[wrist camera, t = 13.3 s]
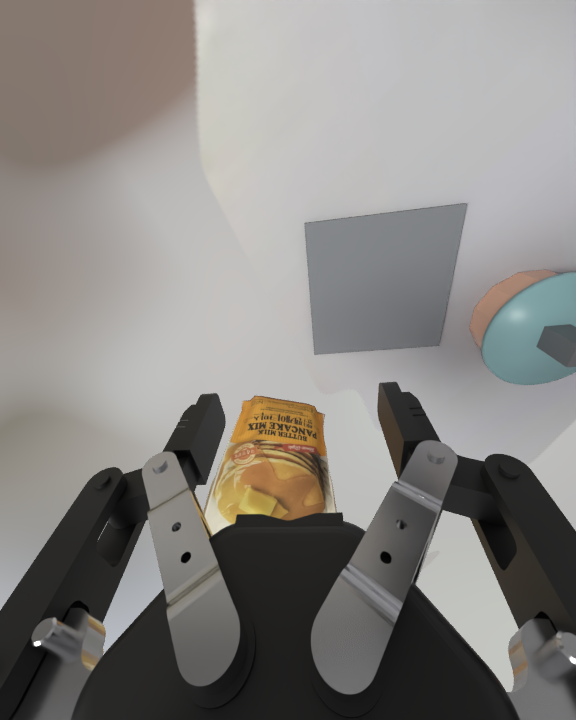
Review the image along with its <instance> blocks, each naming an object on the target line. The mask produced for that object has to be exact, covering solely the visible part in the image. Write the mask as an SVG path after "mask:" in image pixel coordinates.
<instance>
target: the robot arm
mask: <svg viewBox="0 0 576 720" xmlns="http://www.w3.org/2000/svg"><path fill="white" fill-rule="evenodd" d="M378 417H379V421H380V424H381V427H382V431H383V434H384V437H385V440H386V443H387V446H388V449H389V452H390V455H391V458H392V461H393V464H394V468H395V471H396V474H397V477H398V482H394V483H393V484H392V486H391V487H390V489H389V491H388V493H387V495H386V496H385V498H384V500H383V502H382V504H381V506H380V507H379V509H378V511H377V513H376V514H375V516H374V518H373V520H372V522H371V524H370V525H369V527H368V529H367V531H364V530H363V529H361V528H360V527H358V526H356V525H354V524H351V523H348V522H345V521H343V515H342V513H314V514H310V515H307V516H303V517H300V518H297V519H293V520H283V519H279V518H275V517H272V516H268V515H264V514H237V516H236V521H235V523H234V524H231V525H229V526H227V527H225V528H223V529H221V530H220V531H218V532H217V533H215V534H214V535H213V534H212V532H211V530H210V528H209V525H208V523H207V521H206V518H205V516H204V513H203V511H202V509H201V506H200V504H199V502H198V499H197V497H196V494H195V492H194V491H195V488H196V485H206V482H207V479H208V476H209V473H210V470H211V467H212V464H213V461H214V458H215V455H216V452H217V449H218V446H219V443H220V440H221V437H222V434H223V431H224V428H225V414H224V412H223V408H222V406H221V402H220V399H219V396H218V395H217V394H216V393H213V394H202V395H200V397H199V399H198V401H197V403H196V405H191V406H190V407H189V408H188V409H187V410H186V411H185V412H184V413H183V415H182V417H181V419H180V422H178V425H177V426H176V428H175V430H174V432H173V433H172V435H171V437H170V439H169V441H168V443H167V445H166V446H165V448H164V450H163V452H162V453H159V454H157V455H155V456H153V457H152V458H150V459H149V460H148V461H147V462H146V464H145V465H144V467H143V468H141V469H138V470H135V471H132V472H129V473H126V474H123V473H122V471H121V470H120V469H119V468H116V467H112V468H107V469H105V470H102V471H100V472H99V473H97V474H96V475H94V476H93V477H92V478H91V479H90V480H89V481H88V482H87V484H86V485H85V487H84V488H83V490H82V491H81V492H80V494H79V496H78V497H77V499H76V500H75V501H74V503H73V504H72V506H71V507H70V509H69V510H68V512H67V513H66V515H65V516H64V518H63V519H62V521H61V522H60V523H59V525H58V527H57V528H56V529H55V531H54V532H53V534H52V535H51V537H50V538H49V540H48V541H47V543H46V544H45V546H44V547H43V549H42V550H41V551H40V553H39V555H38V556H37V557H36V559H35V560H34V562H33V563H32V565H31V566H30V568H29V569H28V571H27V572H26V574H25V575H24V576H23V578H22V579H21V581H20V582H19V584H18V586H17V587H16V588H15V590H14V591H13V593H12V594H11V596H10V597H9V599H8V600H7V602H6V603H5V604H4V606H3V607H2V609H1V611H0V720H576V531H575V530H574V528H573V527H572V526H571V524H570V523H569V521H568V520H567V519H566V517H565V516H564V514H563V513H562V512H561V511H560V509H559V508H558V506H557V505H556V503H555V502H554V501H553V499H552V498H551V497H550V495H549V494H548V493H547V491H546V490H545V488H544V487H543V486H542V484H541V483H540V481H539V480H538V479H537V477H536V476H535V475H534V473H533V472H532V471H531V469H530V468H529V467H528V466H527V465H526V464H524V463H523V462H521V461H520V460H518V459H516V458H514V457H511V456H508V455H504V454H493V455H490V456H488V457H487V458H486V459H485V462H484V461H479V460H475V459H470V458H465V457H462V456H459V455H457V454H456V453H455V452H454V451H453V450H452V449H451V448H450V447H449V446H447V445H446V444H444V443H441V441H440V439H439V437H438V436H437V434H436V432H435V430H434V428H433V426H432V424H431V423H430V421H429V419H428V417H427V416H426V413H425V411H424V410H423V409H422V406H421V404H420V402H419V400H418V399H417V398H416V397H415V396H414V395H412V394H411V393H410V392H401V390H400V388H399V386H398V384H397V382H387V383H380V384H379V393H378ZM443 510H445V511H449V512H452V513H455V514H459V515H463V516H466V517H469V518H470V519H471V521H472V523H473V526H474V528H475V530H476V532H477V535H478V537H479V539H480V542H481V544H482V546H483V548H484V550H485V553H486V555H487V558H488V560H489V562H490V564H491V567H492V569H493V571H494V574H495V576H496V578H497V580H498V583H499V585H500V587H501V589H502V592H503V594H504V596H505V599H506V601H507V603H508V605H509V607H510V610H511V612H512V614H513V617H514V619H515V621H516V623H517V626H518V628H519V630H518V631H517V632H516V633H515V635H514V636H513V637H512V638H511V640H510V642H509V647H508V651H509V658H510V662H511V665H512V669H513V674H514V686H513V690H512V692H506V691H505V689H504V687H503V686H502V684H501V683H500V681H499V680H498V679H497V677H496V676H495V674H494V673H493V672H492V670H491V669H490V668H489V667H488V666H487V664H486V663H485V662H484V661H483V660H482V659H481V658H480V657H479V655H477V653H476V652H475V651H474V650H473V649H472V648H471V646H469V644H468V643H467V642H466V641H465V640H464V639H463V637H462V636H461V635H460V634H459V633H458V632H457V631H456V630H455V628H454V627H453V626H452V625H451V624H450V623H449V622H448V621H447V620H446V618H445V617H443V615H442V614H441V613H440V612H439V611H438V609H437V608H436V607H435V606H434V605H433V604H432V603H431V602H430V600H429V599H428V598H427V597H426V596H425V595H424V594H423V593H422V592H421V590H420V589H419V588H418V587H417V586H416V582H417V580H418V577H419V574H420V572H421V569H422V566H423V563H424V560H425V557H426V554H427V551H428V548H429V546H430V543H431V540H432V538H433V535H434V532H435V530H436V527H437V524H438V522H439V519H440V516H441V513H442V511H443ZM146 520H149V524H150V529H151V533H152V538H153V542H154V546H155V551H156V555H157V560H158V564H159V568H160V573H161V577H162V582H163V586H164V589H163V590H162V591H161V592H160V593H159V594H158V595H157V596H156V597H155V599H154V600H153V601H152V602H151V603H150V604H149V605H148V606H147V608H145V610H144V611H143V612H142V613H141V614H140V615H139V616H138V617H137V618H136V619H135V620H134V622H133V623H132V624H131V625H130V626H129V627H128V628H127V629H126V630H125V631H124V633H123V634H122V635H121V636H120V637H119V638H118V639H117V640H116V642H114V644H113V645H112V646H111V647H110V648H109V649H108V650H107V651H106V653H105V654H104V655H103V645H104V642H105V634H106V633H105V627H104V625H103V624H102V623H103V621H104V618H105V616H106V613H107V611H108V609H109V606H110V604H111V602H112V599H113V597H114V594H115V592H116V590H117V588H118V585H119V583H120V580H121V578H122V576H123V573H124V571H125V569H126V566H127V564H128V561H129V559H130V557H131V554H132V552H133V550H134V547H135V545H136V543H137V540H138V538H139V535H140V533H141V531H142V528H143V526H144V524H145V521H146ZM107 521H108V523H107ZM106 523H107V525H106ZM105 525H106V527H105ZM104 527H105V529H104ZM103 529H104V531H103ZM102 531H103V532H102ZM101 532H102V534H101ZM100 534H101V536H100ZM99 536H100V538H99ZM98 538H99V540H98ZM97 541H98V542H97Z"/></svg>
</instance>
